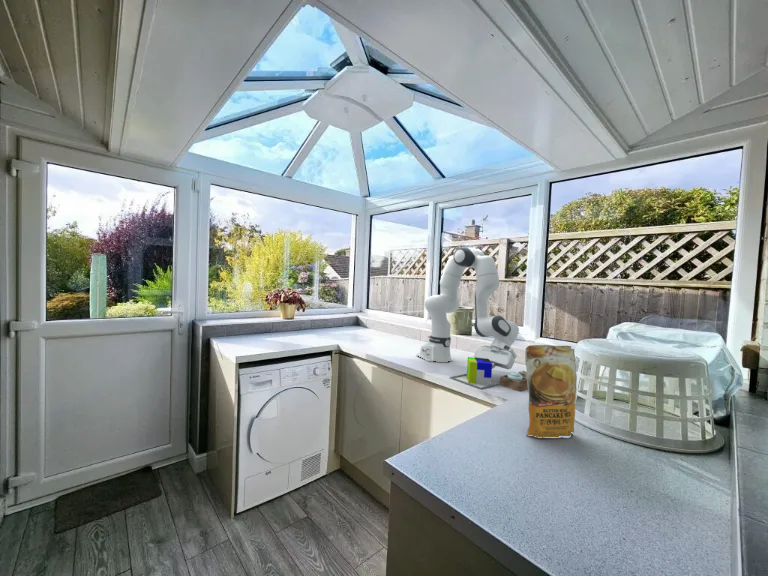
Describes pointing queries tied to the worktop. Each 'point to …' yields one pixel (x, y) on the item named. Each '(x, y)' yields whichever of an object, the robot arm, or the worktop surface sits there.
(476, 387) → the frame
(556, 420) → the pancake mix bag
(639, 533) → the worktop surface
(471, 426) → the worktop surface
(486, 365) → the puzzle toy
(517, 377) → the dome button
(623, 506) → the worktop surface
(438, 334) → the robot arm
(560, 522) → the worktop surface
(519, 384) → the brown wooden box
